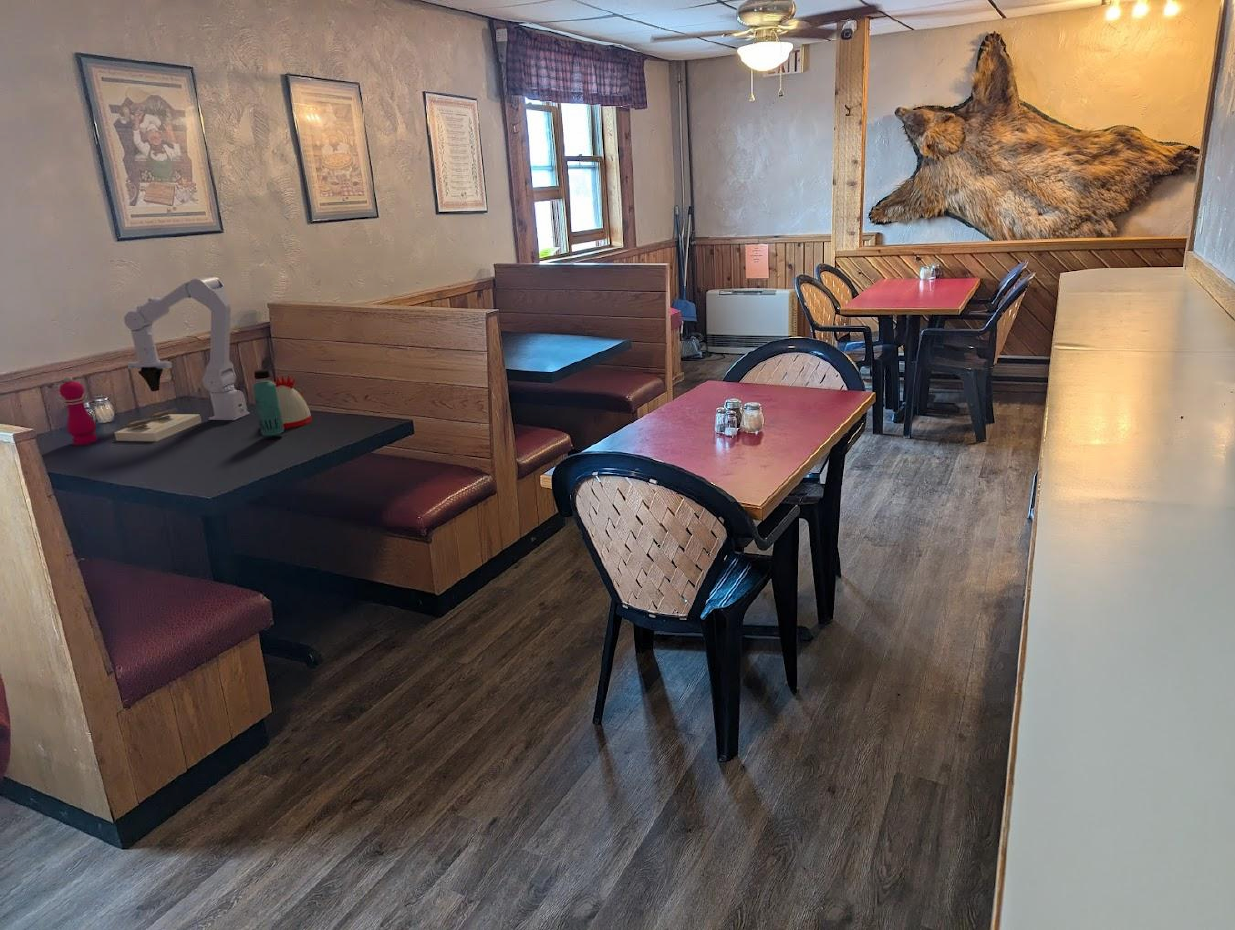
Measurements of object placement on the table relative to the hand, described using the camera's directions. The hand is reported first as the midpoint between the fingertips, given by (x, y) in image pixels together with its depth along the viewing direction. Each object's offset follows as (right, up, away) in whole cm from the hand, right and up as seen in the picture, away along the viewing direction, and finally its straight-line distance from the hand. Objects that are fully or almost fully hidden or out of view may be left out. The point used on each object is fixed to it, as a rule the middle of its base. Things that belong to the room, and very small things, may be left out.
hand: (155, 390), depth 273 cm
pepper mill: (-11, -17, -19) cm, 27 cm away
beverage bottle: (+48, -16, -24) cm, 56 cm away
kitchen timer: (+46, -11, -9) cm, 48 cm away
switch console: (+7, -13, -11) cm, 19 cm away
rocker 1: (+5, -11, -17) cm, 21 cm away
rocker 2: (+7, -8, -8) cm, 13 cm away
